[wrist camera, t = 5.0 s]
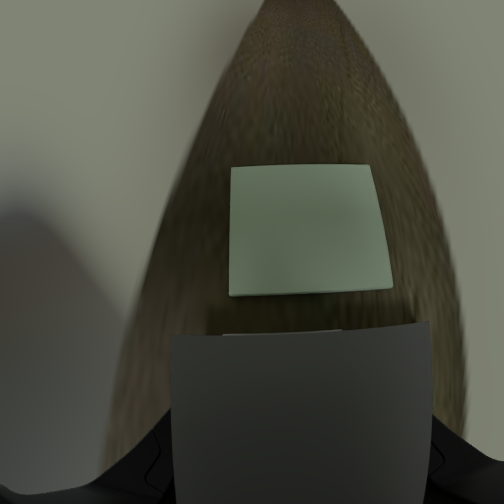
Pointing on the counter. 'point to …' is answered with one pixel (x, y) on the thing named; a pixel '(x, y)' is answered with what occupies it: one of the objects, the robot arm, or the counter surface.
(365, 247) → the rubber mat
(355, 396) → the brick
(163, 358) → the counter surface
